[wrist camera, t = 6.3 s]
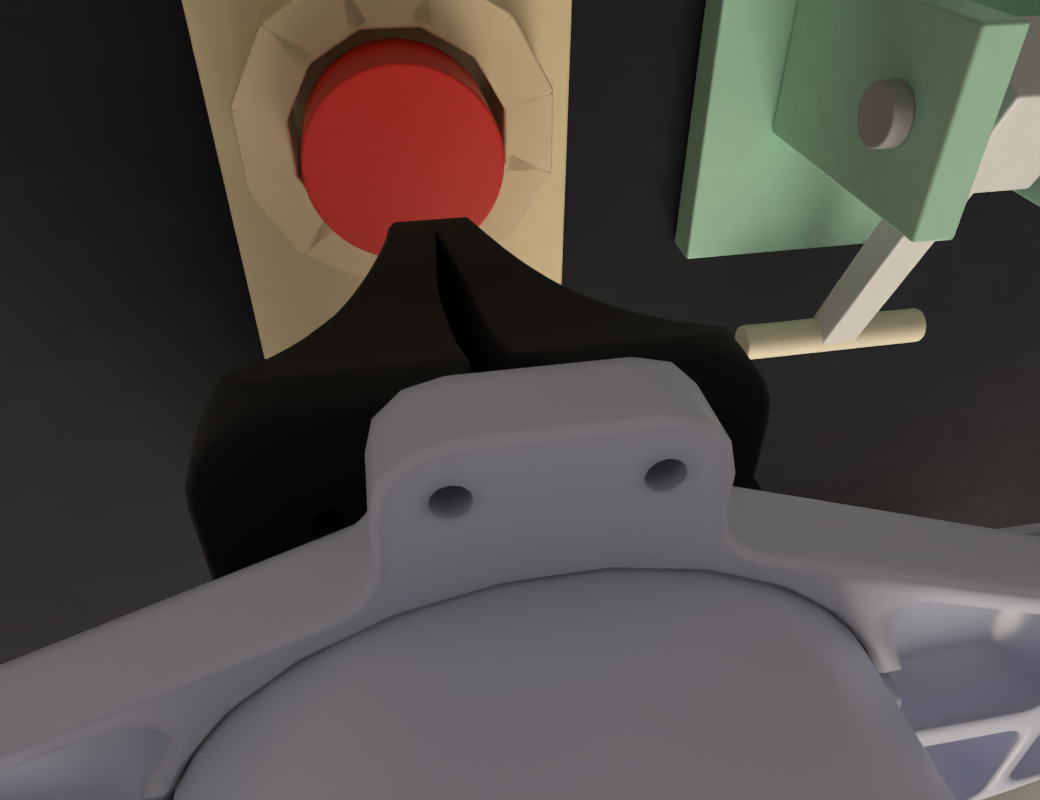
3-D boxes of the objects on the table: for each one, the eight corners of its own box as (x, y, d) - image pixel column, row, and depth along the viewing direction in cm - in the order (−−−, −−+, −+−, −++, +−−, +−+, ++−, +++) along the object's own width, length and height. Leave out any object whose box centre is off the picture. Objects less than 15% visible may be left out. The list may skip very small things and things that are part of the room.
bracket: (929, 220, 27) (1117, 358, 21) (673, 242, 26) (788, 396, 19) (1080, -233, 20) (1446, -244, 13) (735, -235, 18) (953, -247, 12)
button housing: (550, 307, 26) (575, 368, 24) (268, 334, 25) (260, 402, 22) (562, -129, 19) (600, -115, 16) (165, -123, 18) (134, -107, 15)
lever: (893, 304, 27) (922, 364, 26) (725, 321, 26) (746, 384, 25) (1137, 9, 17) (1199, 85, 16) (883, 20, 17) (930, 101, 15)
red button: (492, 216, 21) (506, 251, 19) (318, 229, 20) (317, 267, 18) (488, 32, 18) (504, 56, 16) (288, 41, 17) (283, 67, 16)
